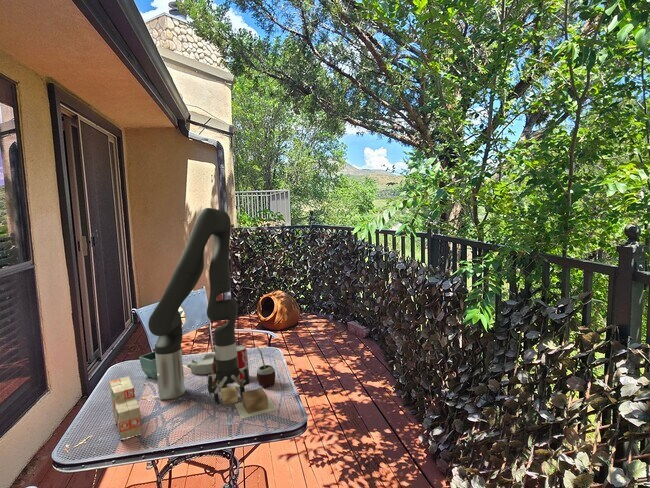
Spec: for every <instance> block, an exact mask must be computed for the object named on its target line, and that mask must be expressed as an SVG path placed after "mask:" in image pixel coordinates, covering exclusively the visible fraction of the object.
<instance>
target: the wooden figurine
mask: <svg viewBox="0 0 650 488" xmlns="http://www.w3.org/2000/svg"><path fill="white" fill-rule="evenodd" d="M212 369H213V371H212V373H210V374H211V375H215V374H216V372H217V370H216V358H215V357H214V360H213V363H212ZM217 381H218V379H217V378H215V379H214V381H213V382H212V388H214V387H215V385H216V383H217ZM226 387H228V384H227V385H223V386H222V387H221V388H226ZM221 388H220V389H221Z"/></svg>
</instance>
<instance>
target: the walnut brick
mask: <svg viewBox="0 0 650 488" xmlns="http://www.w3.org/2000/svg"><path fill="white" fill-rule="evenodd" d="M267 396H268V395H267V393H266V392H265V390H264V388H263V387H259V388H255V389H252V390H251V389H250V390H246V391H245V392H242V402H243V406H244V408H245V409H246V411H247V413H248V414H249V413H253V412H257V411H261V410H265V409H268V397H269V396H268V397H267Z"/></svg>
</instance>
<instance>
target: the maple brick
mask: <svg viewBox="0 0 650 488" xmlns="http://www.w3.org/2000/svg"><path fill="white" fill-rule="evenodd" d="M219 391H220V399H221V403H222V405H223V406H226V405H229V404H235V403H239V398H238V397H239V395H238V390H237V388H236V386H235V385H231V386H227V387H226V388H221V389H220V390H219Z"/></svg>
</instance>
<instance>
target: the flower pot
mask: <svg viewBox="0 0 650 488" xmlns="http://www.w3.org/2000/svg"><path fill="white" fill-rule="evenodd" d="M138 359H139V363H140V367H141V370H142V372H143V373H144V374H145V376H147V377H149V378H151V379H157V378H158V377H157V365H156V355H155V350H154V351H152V352H149V353H146V354H143V355H141V356H139V357H138Z"/></svg>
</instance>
